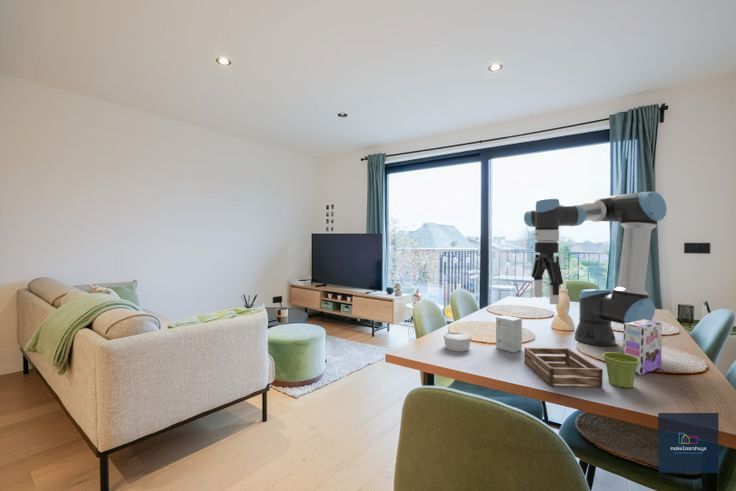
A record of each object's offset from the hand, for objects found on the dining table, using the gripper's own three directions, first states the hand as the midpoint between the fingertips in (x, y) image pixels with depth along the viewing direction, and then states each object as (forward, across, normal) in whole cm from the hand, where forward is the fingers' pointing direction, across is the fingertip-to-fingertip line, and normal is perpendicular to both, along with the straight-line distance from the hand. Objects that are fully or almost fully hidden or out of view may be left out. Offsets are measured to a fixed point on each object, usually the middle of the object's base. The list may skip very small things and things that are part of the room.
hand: (545, 300), depth 122 cm
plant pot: (+23, +16, +16) cm, 33 cm away
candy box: (+23, +2, +32) cm, 40 cm away
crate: (+23, +9, +1) cm, 25 cm away
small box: (+23, -15, -8) cm, 29 cm away
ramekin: (+24, -14, -29) cm, 40 cm away
